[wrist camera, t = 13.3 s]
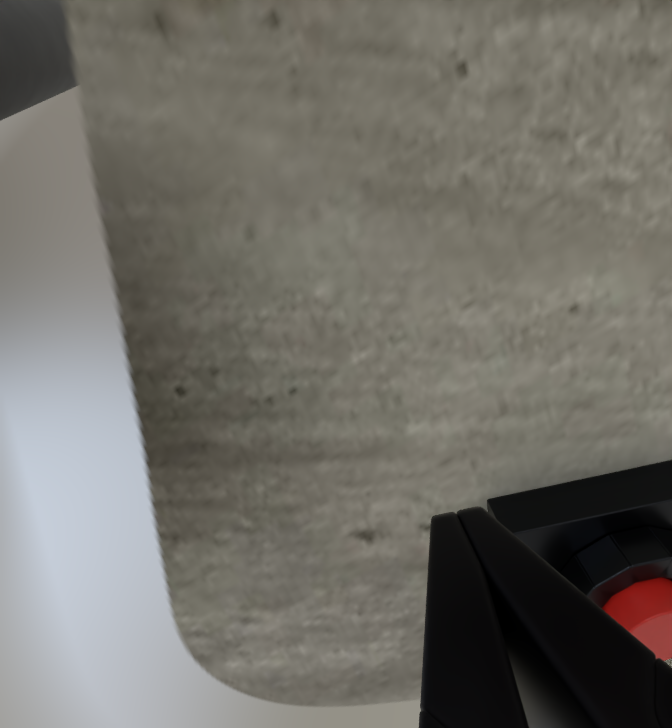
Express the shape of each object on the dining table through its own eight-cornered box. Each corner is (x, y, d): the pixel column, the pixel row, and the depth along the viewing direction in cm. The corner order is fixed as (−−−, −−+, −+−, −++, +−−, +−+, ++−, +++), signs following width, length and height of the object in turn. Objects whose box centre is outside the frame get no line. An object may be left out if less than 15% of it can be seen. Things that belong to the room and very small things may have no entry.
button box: (490, 619, 31) (520, 693, 28) (486, 499, 27) (521, 570, 23) (689, 576, 32) (742, 644, 28) (720, 449, 27) (789, 512, 24)
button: (595, 636, 27) (616, 672, 26) (602, 586, 25) (624, 622, 24) (671, 619, 27) (696, 655, 26) (683, 568, 25) (711, 603, 24)
